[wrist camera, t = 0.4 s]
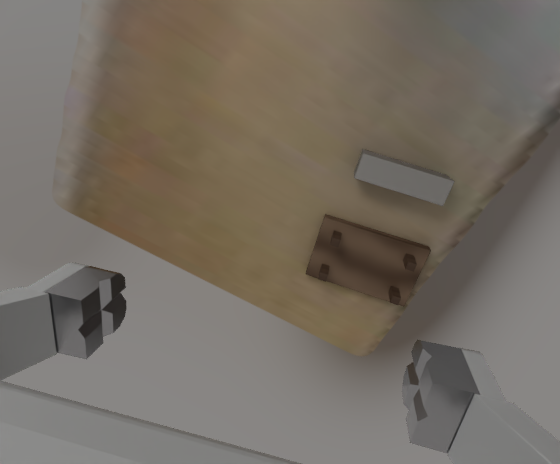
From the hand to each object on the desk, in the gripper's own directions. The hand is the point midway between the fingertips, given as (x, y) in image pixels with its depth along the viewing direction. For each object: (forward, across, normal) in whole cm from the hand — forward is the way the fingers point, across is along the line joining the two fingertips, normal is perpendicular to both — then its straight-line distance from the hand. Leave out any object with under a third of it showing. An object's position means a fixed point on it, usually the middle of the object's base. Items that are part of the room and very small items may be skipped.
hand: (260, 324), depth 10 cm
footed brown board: (+44, -8, +17) cm, 48 cm away
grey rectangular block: (+45, -10, +3) cm, 46 cm away
